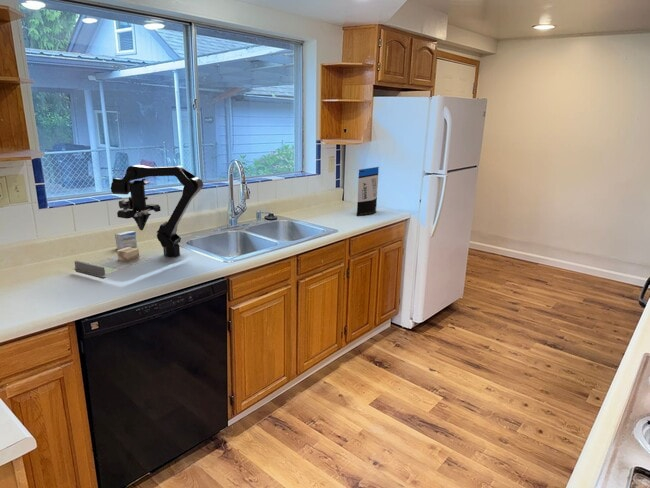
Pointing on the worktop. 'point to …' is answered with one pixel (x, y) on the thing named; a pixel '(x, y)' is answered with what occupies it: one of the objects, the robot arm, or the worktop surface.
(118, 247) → the medicine box
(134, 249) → the maple block
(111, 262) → the trap runway
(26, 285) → the worktop surface
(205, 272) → the worktop surface
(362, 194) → the protein powder
